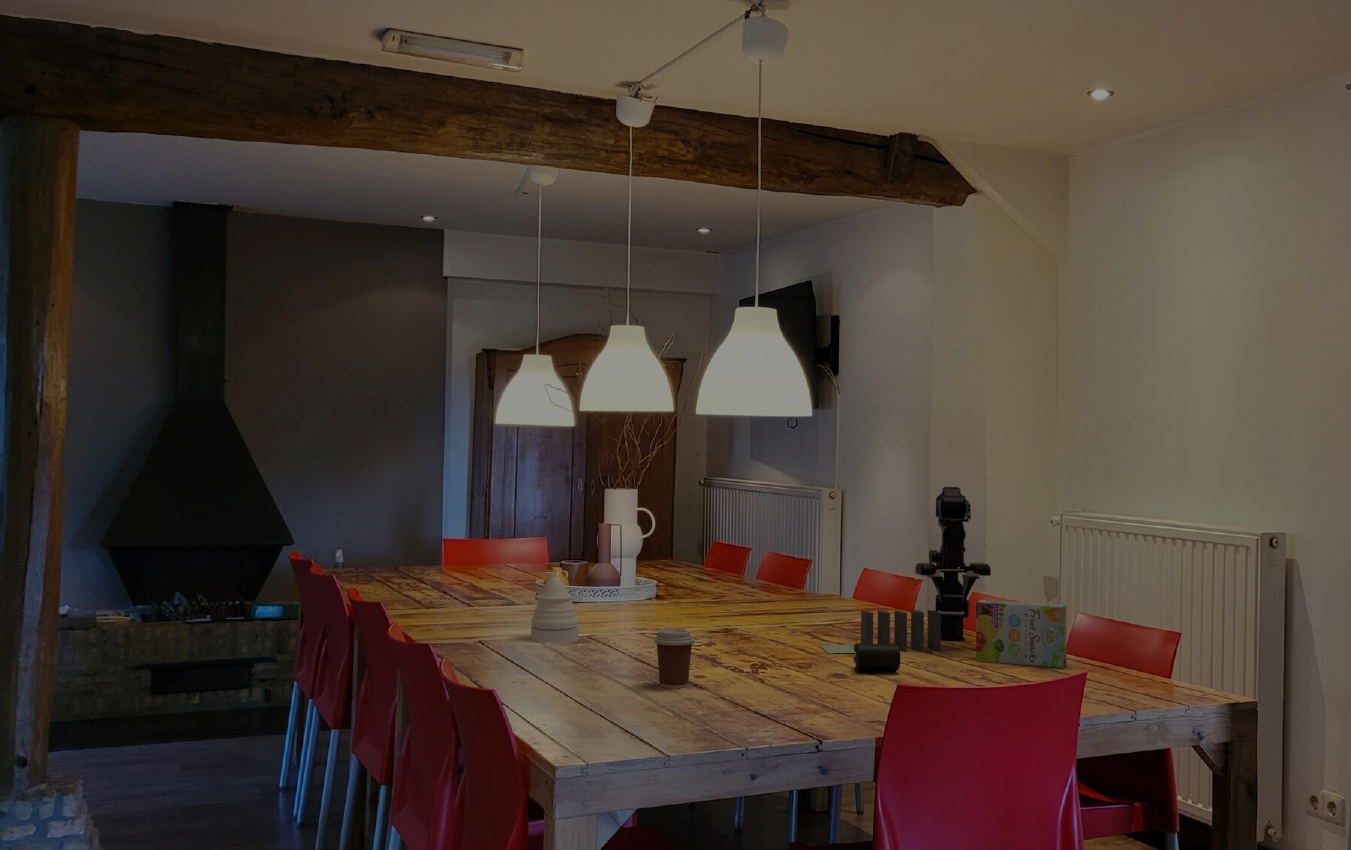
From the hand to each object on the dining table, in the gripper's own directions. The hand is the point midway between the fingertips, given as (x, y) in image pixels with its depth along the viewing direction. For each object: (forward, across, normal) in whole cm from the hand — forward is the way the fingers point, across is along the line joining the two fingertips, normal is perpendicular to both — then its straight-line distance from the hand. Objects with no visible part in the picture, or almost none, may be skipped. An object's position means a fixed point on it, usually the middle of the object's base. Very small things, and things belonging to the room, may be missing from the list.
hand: (952, 601), depth 299 cm
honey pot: (+13, +105, -18) cm, 107 cm away
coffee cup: (+13, +77, +43) cm, 89 cm away
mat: (+12, +30, 0) cm, 33 cm away
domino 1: (+12, +18, 0) cm, 22 cm away
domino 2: (+12, +14, 0) cm, 19 cm away
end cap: (+13, +28, +29) cm, 42 cm away
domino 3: (+12, +10, 0) cm, 16 cm away
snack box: (+13, -11, +19) cm, 25 cm away
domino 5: (+12, +23, 0) cm, 26 cm away
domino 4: (+12, +5, 0) cm, 13 cm away
